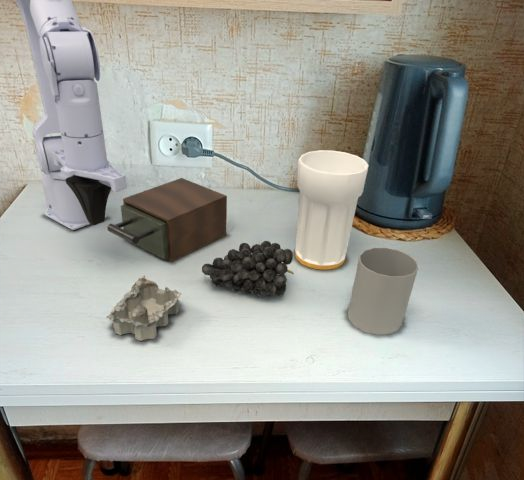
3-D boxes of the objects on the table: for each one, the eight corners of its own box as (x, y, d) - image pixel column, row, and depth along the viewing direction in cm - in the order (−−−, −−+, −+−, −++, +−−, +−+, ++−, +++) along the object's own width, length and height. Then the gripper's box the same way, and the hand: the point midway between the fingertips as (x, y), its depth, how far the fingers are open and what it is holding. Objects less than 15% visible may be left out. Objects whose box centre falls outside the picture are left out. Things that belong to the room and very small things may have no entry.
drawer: (143, 269, 85) (139, 234, 81) (103, 248, 89) (97, 213, 85) (216, 234, 96) (216, 202, 92) (177, 216, 101) (176, 185, 97)
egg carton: (146, 295, 80) (144, 272, 78) (187, 308, 78) (186, 285, 76) (103, 331, 73) (99, 307, 70) (148, 346, 71) (145, 323, 68)
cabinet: (171, 262, 89) (169, 219, 83) (127, 240, 94) (122, 198, 89) (226, 235, 97) (227, 195, 92) (183, 216, 103) (181, 177, 98)
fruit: (196, 238, 77) (295, 248, 75) (209, 231, 84) (299, 240, 83) (194, 294, 80) (289, 305, 78) (207, 282, 87) (294, 292, 86)
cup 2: (389, 341, 75) (405, 283, 68) (339, 321, 78) (349, 264, 71) (409, 314, 80) (425, 258, 74) (361, 297, 83) (373, 242, 77)
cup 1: (335, 240, 99) (350, 148, 88) (361, 269, 90) (381, 172, 79) (280, 245, 96) (288, 151, 85) (302, 276, 87) (314, 176, 76)
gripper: (26, 125, 72) (46, 215, 80) (90, 151, 65) (105, 246, 74) (69, 115, 76) (84, 202, 85) (133, 139, 70) (142, 230, 78)
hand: (96, 222), depth 80 cm, fingers closed
